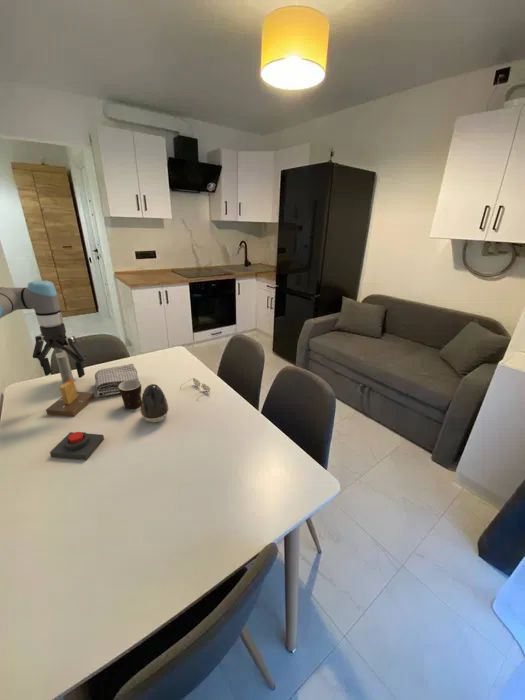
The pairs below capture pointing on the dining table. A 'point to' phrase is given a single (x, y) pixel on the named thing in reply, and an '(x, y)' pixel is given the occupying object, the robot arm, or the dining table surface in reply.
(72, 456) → the doorbell
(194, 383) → the eyeglasses
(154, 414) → the dark egg shape
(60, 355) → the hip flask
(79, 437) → the bell button
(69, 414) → the plate
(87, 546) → the dining table surface
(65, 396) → the thumb turn
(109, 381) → the towel
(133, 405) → the coffee mug
